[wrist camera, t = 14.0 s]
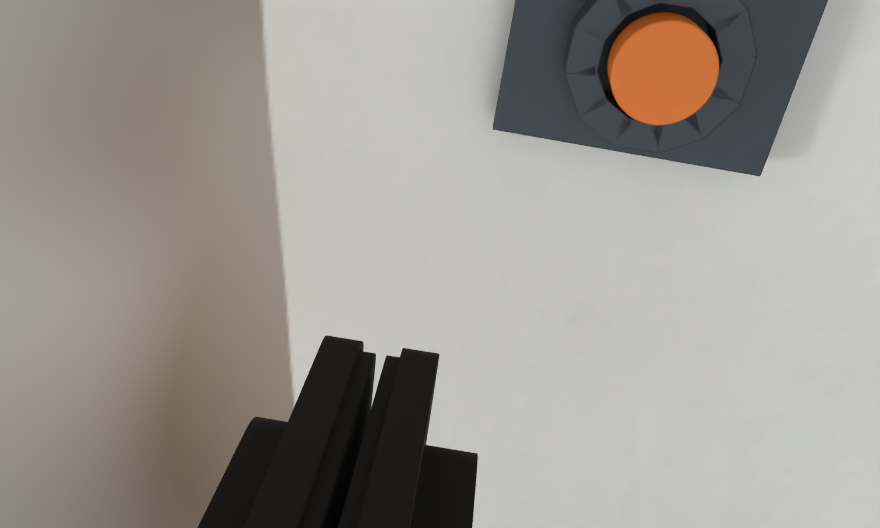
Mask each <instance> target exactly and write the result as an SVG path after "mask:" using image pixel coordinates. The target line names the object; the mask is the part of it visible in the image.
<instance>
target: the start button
mask: <svg viewBox="0 0 880 528" xmlns="http://www.w3.org/2000/svg"><path fill="white" fill-rule="evenodd" d="M607 72H608V78H609V82H610V86H611V89H612V92H613V95H614V98H615V100H616V101H617V103H618V105H619V106H620V107H621V109H622V110H623V111H624V112H625V113H626V114H628V115H629V116H630V117H632V118H633V119H635V120H637V121H640V122H642V123H646V124H651V125H667V124H672V123H676V122H679V121H681V120H684V119H686V118H688V117H689V116H691V115H692V114H694V113H695V112H697V111H698V110H699V109H700V108H701V107H702V106H703V105H704V104H705V103H706V102H707V100H708V99H709V97H710V96H711V94H712V92H713V91H714V88H715V86H716V83H717V80H718V75H719V58H718V54H717V50H716V48H715V46H714V44H713V42H712V40H711V39H710V38H709V36H708V35H707V34H706V33H705V32H704V31H703V30H702V29H701V28H700V27H699V26H698V25H697V24H696V23H695V22H693V21H692V20H691V19H689V18H687V17H686V16H683V15H681V14H677V13H673V12H656V13H651V14H648V15H645V16H642V17H640V18H638V19H636V20H635V21H633V22H632V23H630V24H629V25H628V26H627V27H626V28H624V29H623V30H622V32H621V33H620V34H619V35H618V37H617V38H616V40H615V41H614V43H613V45H612V47H611V50H610V53H609V57H608V63H607Z"/></svg>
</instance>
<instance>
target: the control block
mask: <svg viewBox="0 0 880 528" xmlns="http://www.w3.org/2000/svg"><path fill="white" fill-rule="evenodd" d="M827 1H828V0H516V1H515V7H514V12H513V18H512V23H511V29H510V35H509V40H508V46H507V51H506V57H505V62H504V68H503V74H502V79H501V85H500V90H499V96H498V101H497V107H496V112H495V118H494V124H493V129H494V130H499V131H505V132H511V133H517V134H522V135H528V136H534V137H539V138H545V139H551V140H556V141H562V142H568V143H574V144H579V145H585V146H591V147H596V148H602V149H608V150H613V151H619V152H625V153H630V154H636V155H642V156H648V157H653V158H659V159H665V160H670V161H676V162H682V163H687V164H693V165H699V166H705V167H710V168H716V169H722V170H727V171H733V172H739V173H744V174H750V175H756V176H760V175H761V173H762V170H763V168H764V165H765V163H766V160H767V157H768V155H769V152H770V149H771V147H772V144H773V142H774V139H775V136H776V134H777V131H778V129H779V126H780V123H781V121H782V118H783V116H784V113H785V110H786V108H787V105H788V103H789V100H790V97H791V95H792V92H793V90H794V87H795V84H796V82H797V79H798V77H799V74H800V71H801V69H802V66H803V64H804V61H805V58H806V56H807V53H808V51H809V48H810V45H811V43H812V40H813V38H814V35H815V32H816V30H817V27H818V25H819V22H820V19H821V17H822V14H823V12H824V9H825V6H826V4H827ZM656 12H673V13H677V14H681V15H683V16H686V17H687V18H689V19H691V20H692V21H693V22H695V23H696V24H697V25H698V26H699V27H700V28H701V29H702V30H703V31H704V32H705V33H706V34H707V35H708V36H709V38H710V39H711V40H712V42H713V44H714V46H715V48H716V50H717V54H718V58H719V75H718V80H717V83H716V86H715V88H714V91H713V92H712V94H711V96H710V97H709V99H708V100H707V102H706V103H705V104H704V105H703V106H702V107H701V108H700V109H699V110H698V111H697V112H695V113H694V114H692V115H691V116H689V117H688V118H686V119H684V120H681V121H679V122H676V123H672V124H667V125H651V124H646V123H642V122H640V121H637V120H635V119H633V118H632V117H630V116H629V115H628V114H626V113H625V112H624V111H623V110H622V109H621V107H620V106H619V105H618V103H617V101H616V100H615V98H614V95H613V92H612V89H611V86H610V82H609V78H608V72H607V63H608V57H609V53H610V50H611V47H612V45H613V43H614V41H615V40H616V38H617V37H618V35H619V34H620V33H621V32H622V30H623V29H624V28H626V27H627V26H628V25H629V24H630V23H632V22H633V21H635V20H636V19H638V18H640V17H642V16H645V15H648V14H651V13H656Z"/></svg>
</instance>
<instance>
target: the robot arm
mask: <svg viewBox="0 0 880 528" xmlns="http://www.w3.org/2000/svg"><path fill="white" fill-rule="evenodd" d="M375 361H376V354H375V353H368V352H363V342H362V341H357V340H351V339H345V338H338V337H332V336H325V337H324V339H323V341H322V343H321V345H320V348H319V350H318V353H317V355H316V357H315V360H314V362H313V364H312V367H311V369H310V371H309V374H308V376H307V379H306V381H305V383H304V386H303V388H302V390H301V393H300V395H299V397H298V400H297V402H296V404H295V407H294V409H293V412H292V414H291V416H290V419H289V421H288V422H284V421H278V420H272V419H266V418H260V417H255V418H254V419H253V420H251V422H250V424H249V425H248V427H247V429H246V431H245V433H244V435H243V437H242V439H241V441H240V443H239V445H238V447H237V449H236V451H235V453H234V455H233V457H232V459H231V461H230V463H229V465H228V467H227V469H226V471H225V473H224V475H223V477H222V480H221V481H220V483H219V486H218V487H217V490H216V492H215V494H214V496H213V498H212V500H211V502H210V504H209V506H208V508H207V510H206V512H205V514H204V516H203V518H202V520H201V522H200V524H199V526H198V528H472V523H473V510H474V498H475V486H476V473H477V459H478V457H477V454H476V453H470V452H464V451H458V450H452V449H446V448H440V447H434V446H428V445H426V440H427V433H428V427H429V420H430V414H431V407H432V400H433V394H434V387H435V381H436V374H437V367H438V361H439V354H437V353H431V352H425V351H418V350H412V349H406V348H403V349H402V352H401V356H400V358H399V357H393V356H386V359H385V362H384V366H383V369H382V373H381V376H380V380H379V383H378V387H377V390H376V394H375V398H374V401H373V405H372V408H371V403H372V393H373V382H374V372H375Z"/></svg>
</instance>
